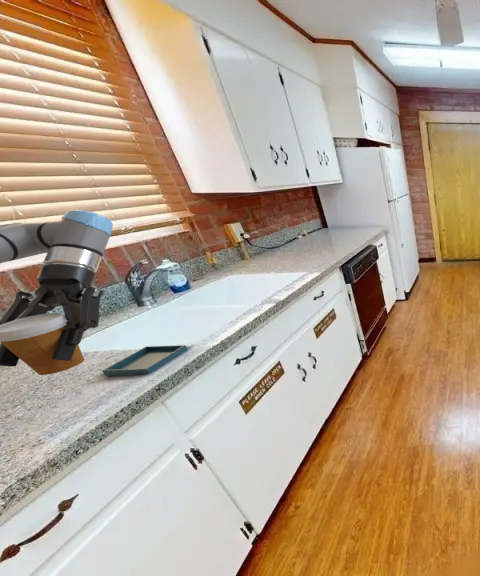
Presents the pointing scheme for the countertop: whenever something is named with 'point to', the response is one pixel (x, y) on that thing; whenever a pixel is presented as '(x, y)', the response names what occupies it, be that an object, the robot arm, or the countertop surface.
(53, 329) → the disposable coffee cup
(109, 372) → the cup tray
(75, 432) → the countertop surface
